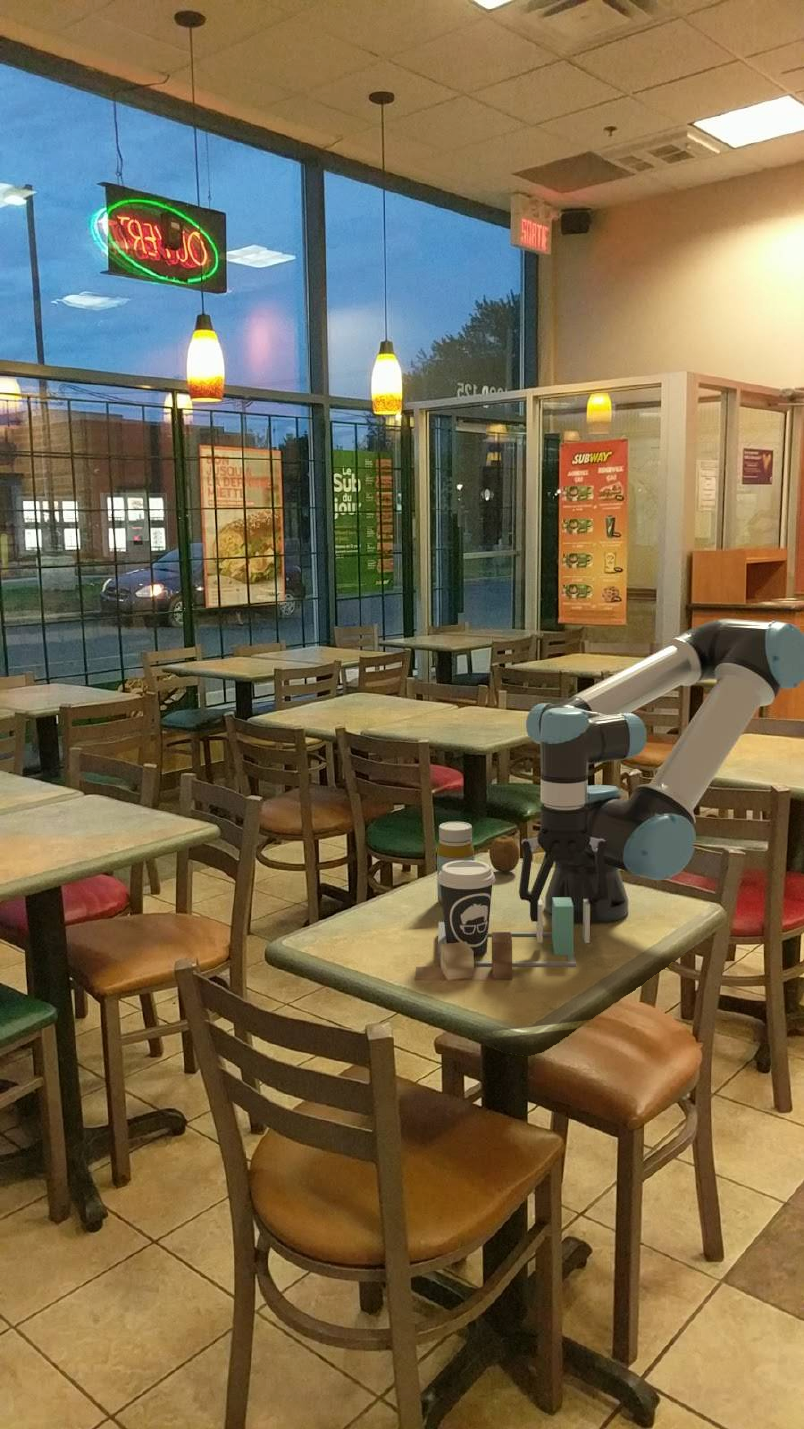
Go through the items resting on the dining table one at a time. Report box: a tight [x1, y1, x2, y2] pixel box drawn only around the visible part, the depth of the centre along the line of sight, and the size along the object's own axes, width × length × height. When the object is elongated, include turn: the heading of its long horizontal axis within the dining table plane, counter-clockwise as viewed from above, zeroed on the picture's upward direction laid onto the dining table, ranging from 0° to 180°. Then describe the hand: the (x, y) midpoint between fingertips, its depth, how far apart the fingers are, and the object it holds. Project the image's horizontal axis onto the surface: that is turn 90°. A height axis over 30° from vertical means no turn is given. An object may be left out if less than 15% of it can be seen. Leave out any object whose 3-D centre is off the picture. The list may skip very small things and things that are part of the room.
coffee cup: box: [436, 860, 496, 958], centre depth 173 cm, size 10×10×15 cm
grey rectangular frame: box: [437, 897, 577, 967], centre depth 174 cm, size 22×14×9 cm, turn 87°
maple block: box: [440, 942, 475, 981], centre depth 165 cm, size 4×4×4 cm
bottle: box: [436, 821, 475, 906], centre depth 198 cm, size 7×7×15 cm
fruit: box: [488, 834, 521, 874], centre depth 216 cm, size 6×6×8 cm
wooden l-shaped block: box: [414, 931, 513, 981], centre depth 165 cm, size 15×5×7 cm, turn 87°
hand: (562, 939), depth 174 cm, fingers open, 7 cm apart
